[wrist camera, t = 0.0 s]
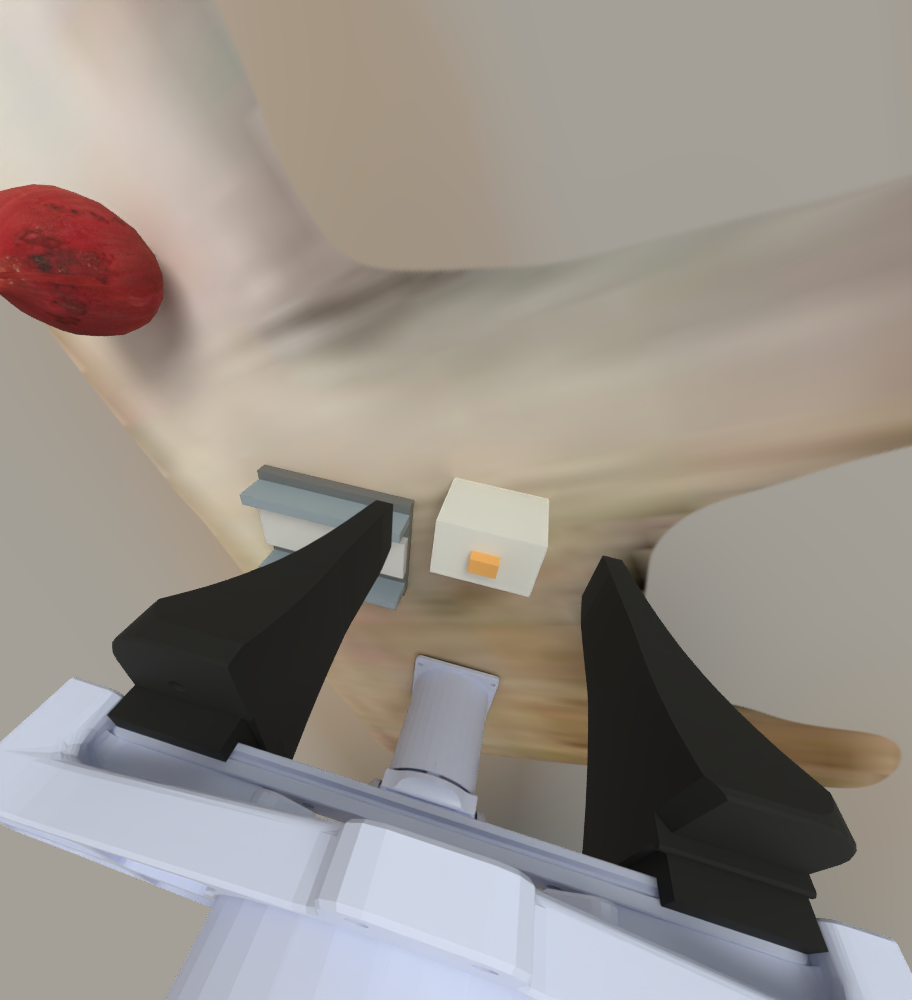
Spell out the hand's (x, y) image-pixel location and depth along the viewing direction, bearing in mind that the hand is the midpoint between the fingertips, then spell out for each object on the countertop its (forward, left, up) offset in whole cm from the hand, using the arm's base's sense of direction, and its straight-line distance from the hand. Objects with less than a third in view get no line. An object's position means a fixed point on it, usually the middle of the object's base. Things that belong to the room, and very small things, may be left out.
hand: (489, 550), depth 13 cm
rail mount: (-11, +11, -10) cm, 18 cm away
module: (-6, 0, -10) cm, 12 cm away
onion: (+5, +21, -10) cm, 24 cm away
